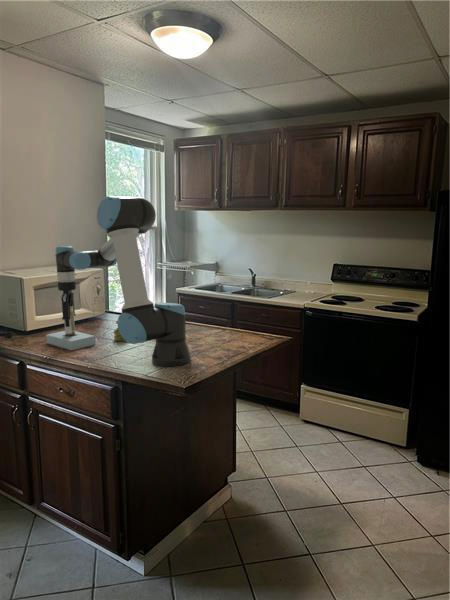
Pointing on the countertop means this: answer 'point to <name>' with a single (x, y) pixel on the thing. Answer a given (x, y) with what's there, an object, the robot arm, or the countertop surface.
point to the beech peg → (71, 323)
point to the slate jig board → (70, 340)
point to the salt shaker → (118, 335)
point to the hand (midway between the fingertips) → (70, 331)
